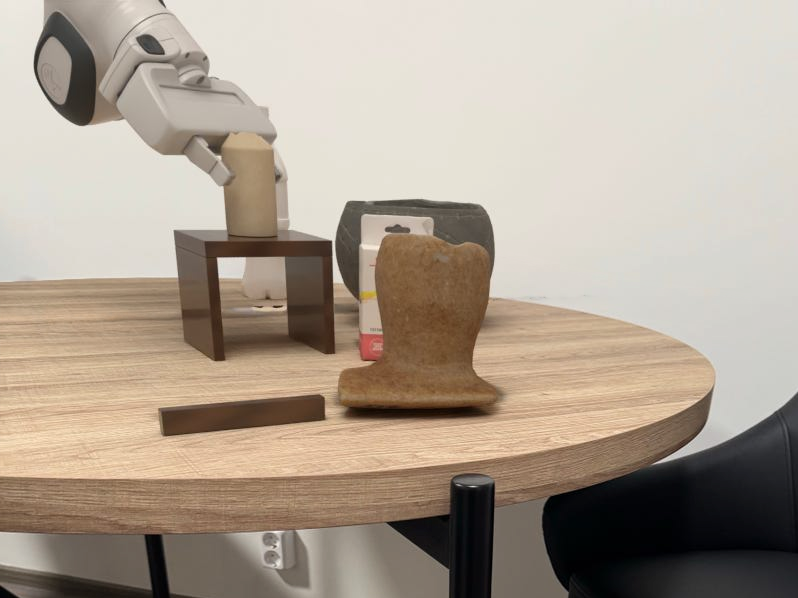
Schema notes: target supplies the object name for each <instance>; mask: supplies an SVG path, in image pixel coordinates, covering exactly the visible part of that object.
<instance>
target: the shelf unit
mask: <svg viewBox="0 0 798 598" xmlns="http://www.w3.org/2000/svg"><path fill="white" fill-rule="evenodd" d="M173 239H174V245H175V246H174V249H175V260H176V269H177V280H178V290H179V300H180V310H181V320H182V321H181V322H182V330H183V331H182V332H183V341H184V342H186V343H188V344H189V345H190V346H192V347H193V348H194V349H196V350H198V351H199V352H201V353H202V354H204V355H205V356H207V357H208V358H210V359H211V360H212V361H214V362H220V361H221V362H222V361H226V353H225V351H226V350H225V340H224V339H225V337H224V328H223V325H224V324H223V315H222V302H221V291H220V290H221V287H220V276H219V275H220V274H219V263H218V258H221V259H224V258H225V259H226V258H228V259H229V258H231V259H232V258H246V257H285V274H286V295H287V298H286V315H287V333H288V336H290V337H291V338H294V339H295V340H298V341H300V342H301V343H303V344H305V345H308V346H309V347H311V348H314V349H315V350H317V351H319V352H321V353H323V354H325V355H328V354H329V355H331V354H336V347H335V345H336V336H335V334H336V333H335V299H334V293H335V292H334V259H333V256H334V255H333V252H334V251H333V240H331V239H329V238H328V239H327V238H324V237H320V236H317V235H313V234H309V233H306V232H302V231H298V230H294V229H288V230H278V234H277V236H271V237H245V236H235V235H230V234H228V233H227V229H173Z"/></svg>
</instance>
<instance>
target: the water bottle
mask: <svg viewBox="0 0 798 598" xmlns="http://www.w3.org/2000/svg"><path fill="white" fill-rule="evenodd" d="M257 106H258V107H259V109H260V110H261V111H262V112H263V113H264V114H265V115H266V117H267V118H268V119H269V120H270V113H269V109H270V108H269V106H263V105H262V106H261V105H257ZM271 147H272V148H273V149H274V162H275V163H276V165H277V166H278V167H279V169H280V170H281V171H282V173H283V176H282V178H281V179H280V181H279V182H278V183H277V184H276V204H277V224H278V230H289V229H290V225H291V220H290V219H291V218H290V215H289V196H288V180H289V178H288V172H287V168H286V166H285V163H284V161H283V160H282V157H281V155H280V153H279V151H278V149H277V147H276V145H275V143H274V142H273V144H272V145H271ZM240 287H241V291H242V292H241V293H242V295H243V296H244V297H246V298H248V299H255V300H266V299H269V300H285V299H286V300H287V295H286V274H285V257H245V265H244V271H243V274H242V278H241V281H240ZM284 306H285V305H272V307H273V308H275V309H280V308H283V307H284ZM254 308H257V309H258V308H259V309H261V308H264V305H260V306H259V305H257V306H254Z"/></svg>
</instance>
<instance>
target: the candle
mask: <svg viewBox="0 0 798 598" xmlns="http://www.w3.org/2000/svg"><path fill="white" fill-rule="evenodd" d="M220 160H221V161H226V162H227V163H228V164H229V166H230V167H231V169H232V170H233V171H234V172H235V174H236V177H235V179H234V180H233V181H232V183H231V184H230V186H222V187H223V188H222V189H223V199H224V213H225V214H224V215H225V226H226V230H227V233H228V234H230V235H235V236H245V237H271V236H277V234H278V224H277V204H276V184H275V164H274V149H273V148H272V147H271V145H270V144H269V143H268V142H266V141H265V140H264V139H263V138H262V137H261V136H258V135H257V134H255V133H246V132H240V133H238V134H233V133H232V132H231V133H230V134H229V136H228V137H227V139H226V140H225V141H224V143H223V144H222V145H221V156H220Z"/></svg>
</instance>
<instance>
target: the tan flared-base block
mask: <svg viewBox="0 0 798 598" xmlns="http://www.w3.org/2000/svg"><path fill="white" fill-rule="evenodd" d="M490 272H491V270H490V257H489V254H488V252H487V251H486V250H485V248H483V247H482V246H480V245H478V244H475V243H471V242H465V243H463V244H461V245H452V244H450V243H448V242H445V241H444V240H441V239H439V238H437V237H435V236H429V235H417V234H411V233H390V234H387V235H386V236H385V237H384V238H383V239H382V242H381V245H380V248H379V251H378V255H377V260H376V265H375V287H376V294H377V302H378V307H379V312H380V319H381V326H382V332H383V352H382V354H381V356H380V357H379V359H378V360H374V362H372V363H371V364H368V365H364V366H355V367H348V368H345V369H342V370H341V372H340V373H339V377H338V380H337V381H338V382H337V393H338V401H339V403H340V405H341V406H343V407H346V408H359V409H379V410H380V409H385V410H387V409H390V410H391V409H393V410H431V409H450V408H451V409H454V408H463V407H477V406H478V407H479V406H486V405H492V404H494V403H496V402H498V400H499V396H500V395H499V391H498V389H497V388H496V387H495V386H493V384H492V383H489V382H488V381H486V380H485V379H483V378H482V377H481V376H479V375H478V374H477V373H476V371H475V369H474V366H473V361H474V351H475V346H476V343H477V338H478V335H479V333H480V331H481V328H482V325H483V323H484V319H485V316H486V312H487V309H488V304H489V301H490V291H491V279H490Z"/></svg>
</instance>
